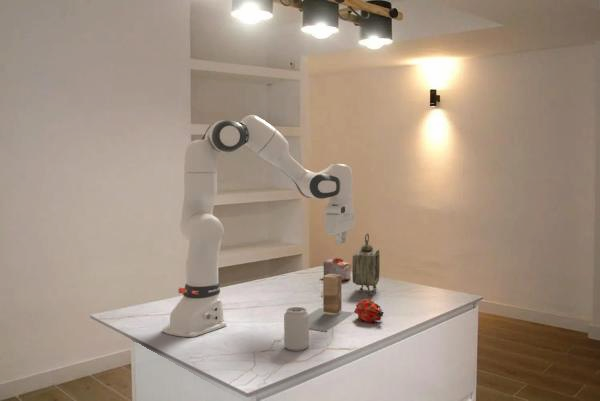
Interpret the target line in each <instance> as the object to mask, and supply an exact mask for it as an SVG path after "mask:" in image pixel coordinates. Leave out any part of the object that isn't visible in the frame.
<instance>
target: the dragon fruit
mask: <svg viewBox="0 0 600 401" xmlns="http://www.w3.org/2000/svg"><path fill="white" fill-rule="evenodd" d="M355 306H356V308H355V310H354V311H353V314H356V315H357V318H358V320H359V322H362V321H364V322H366V323H367V324H369V323H370V324H376V323H375V322H377V321H378V322H381V320H382V318H383V317H384V316H383V315H384V311H383V309H382V308H381V306H380V305H378V304H377V303H375V302H374V301H373V300H372V299H368V298H364V299H361V300H360V301H359V302H358V303H357V304H356V305H355Z"/></svg>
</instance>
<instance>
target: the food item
mask: <svg viewBox="0 0 600 401" xmlns="http://www.w3.org/2000/svg"><path fill="white" fill-rule="evenodd" d="M327 274H338V275H341V282H344V281H345V282H346V281H350V280H351V274H352V263H350V262H345V261H344V259H342V258H337V257H336V258H334V259H326V260H324V261H323V276H325V275H327Z"/></svg>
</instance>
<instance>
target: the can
mask: <svg viewBox="0 0 600 401" xmlns="http://www.w3.org/2000/svg"><path fill="white" fill-rule="evenodd" d="M309 314H310V313H308V312H307V308H305V307H300V306H299V307H298V306H295V307H293V306H292V307H289V308H287V309H285V313H284V314H283V331H284V332H283V335H284V336H283V337H284V339H283V340H284V342H283V345H284V346H285V347H286V349H287V350H288V351H293V352H301V351H303V350H306V349H307V348H308V347H309V345H310V332H309V331H310V330H309Z"/></svg>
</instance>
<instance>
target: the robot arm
mask: <svg viewBox="0 0 600 401" xmlns="http://www.w3.org/2000/svg"><path fill="white" fill-rule="evenodd" d="M243 146H246V147H248V148H250V150H252V151H253V152H254V153H255V154H256V155H258V156H259V157H260V158H262V159H263V160H265V161H266V162H268V163H270V164H271V165H273V166H275V167H277V168H278V169H280V171H282V172H283V173H284V174H285V175H286V176H287V177H288V178H289V179H291V180H292V181H293V183H294V184H295V186H296V188H297V190H298V192H299V193H300V194H301V195H302V196H303V197H305V198H308V199H316V200H324V199H328V198H329V202H328V203H327V205H325V207H324V208H323V211H324V214H325V216H324V228H325V232H326V234H327V235H334V238H335V244H336V245H342V244H345V243H347V238H348V233H349V232H348V231H351V230H353V229H355V228H356V212H355V210H354V197H353V189H354V178H353V177H354V175H353V171H352V168H351V166H349V165H347V164H343V163H336V162H334V163H331V164H330V165H329V166H328V167H326V168H325V169H323V170H320V171H318V172H315V171H311V170H307V169H306V168H304V167H303V166H302V165H301V164H300V163H299V162H298V161H297V160H295V158H293V157H292V156H291V154H290V150H289V148H290V145H289V141H288V140H287V139H286V138H285V137H284V136H283V134H282V133H281V132H279V130H277V129H276V128H275V127H274V126H272V125H271V124H270V123H269V122H267V121H266V120H264V119H262V118H261V117H259V116H257V115H255V114H250V115H249V114H248V115H247V116H245V117H243V118H242V119H241V120H240V121H234V120H230V119H228V120H226V119H224V120H223V119H222V120H217V121H216V122H213V123H212V124H211V125H209V126H208V128H206V131H205V133H204V134H203V137H202V138H201V139H195V140H192V141H191V142H189V143H188V144H187V145H186V150H185V156H184V165H183V168H184V170H183V174H184V176H183V178H184V181H183V183H184V190H183V191H184V192H183V193H184V197H183V204H182V210H181V218H180V223H179V225H180V226H179V228H180V230H181V233H182V235H183V236H184V237H185V238H186V239H187V240H188V241H189V246H188V251H187V252H188V253H187V259H186V260H185V272H186V273H185V276H186V277H185V278H186V282H185V285H184V287H179V288H177V292H178V294H182V295H183V296H182V298H181V299H179V301H178V303H177V304H176V306H175V307H174V308H173V309H172V310H171V311H170V315H169V324H167V325H166V326H164V327H163V328H162V332H163V333H165V334H167V335H172V336H176V337H185V338H186V337H190V338H192V337H198V336H200V335H204V334H206V333H209V332H214V331H215V330H219V329H221V328H224V327H227V322H226V321H225V318H224V311H223V310H224V308H223V303H222V300H221V297H220V293H221V284H220V281H219V256H220V250H221V245H222V240H223V238H224V235H225V229H224V228H225V227H224V225H223V224H222V222H221V220H220V219H219V218H217V217H216V216H215V215H214V214H213V213H214V206H215V201H216V198H217V195H218V175H217V174H218V173H217V171H218V168H217V162H218V157H220V155H221V154H222V153H223V154H224V153H225V154H227V153H232V152H235V151H237V150H239V148H241V147H243Z"/></svg>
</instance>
